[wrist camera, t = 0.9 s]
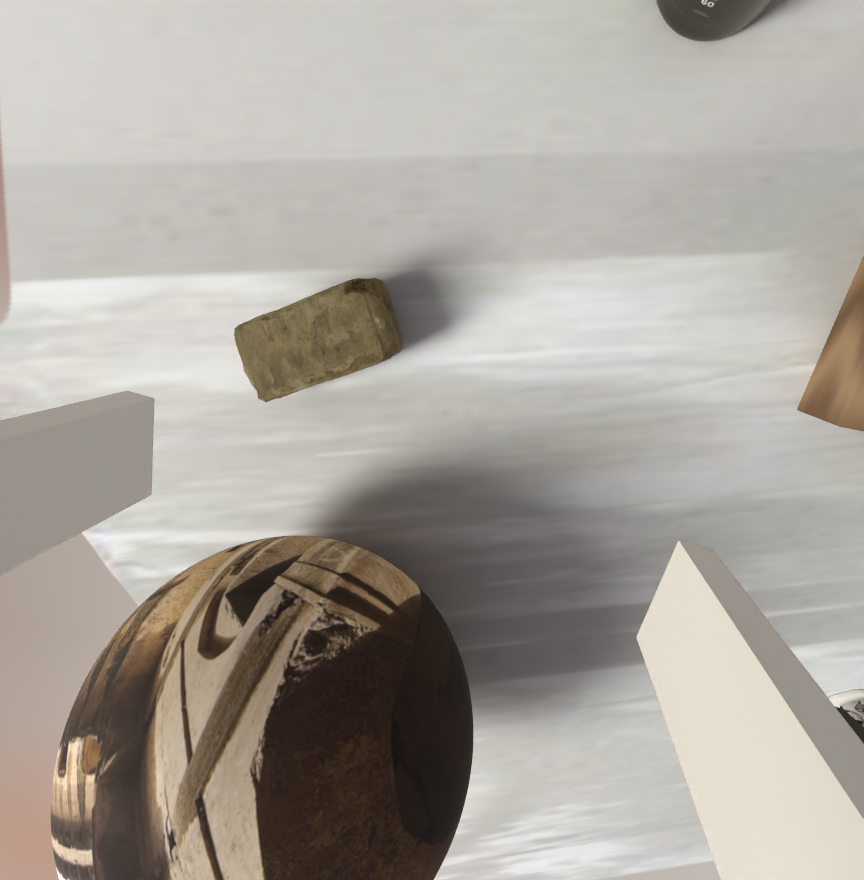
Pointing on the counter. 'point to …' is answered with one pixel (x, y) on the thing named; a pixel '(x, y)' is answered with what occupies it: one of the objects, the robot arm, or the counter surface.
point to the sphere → (269, 727)
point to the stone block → (319, 338)
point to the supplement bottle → (709, 16)
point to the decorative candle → (851, 703)
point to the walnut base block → (841, 366)
